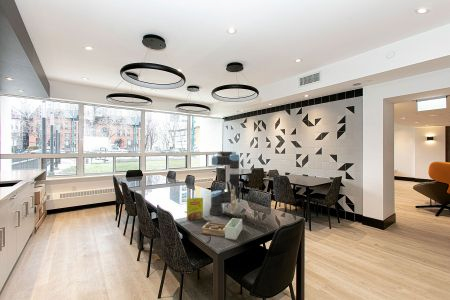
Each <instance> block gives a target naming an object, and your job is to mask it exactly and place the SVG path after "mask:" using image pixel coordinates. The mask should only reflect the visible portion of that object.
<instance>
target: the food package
mask: <svg viewBox="0 0 450 300" xmlns="http://www.w3.org/2000/svg"><path fill="white" fill-rule="evenodd" d="M203 218H204V197H195V198H194V197H193V198H187V199H186V220H187V219H188V220H198V219H199V220H200V219H203Z"/></svg>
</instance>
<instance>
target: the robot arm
mask: <svg viewBox="0 0 450 300" xmlns="http://www.w3.org/2000/svg"><path fill="white" fill-rule="evenodd" d="M211 165H212V166H225V189H224V190H213V191H212V192H211V193H210V208H209V211H208V212H209V214H208V215H211V216H218V217H219V216H222V215H224V207H223V204H231V190H232V189H233V188H235V190H236V195H235V203H237V204H238V199H239V195H241V190H242V185H243V182H242V181H240V155H239V154H237V153H236V151H218V152H215V153H214V154H213V155H212V156H211ZM238 184H239V186H238Z"/></svg>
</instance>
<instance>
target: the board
mask: <svg viewBox="0 0 450 300" xmlns="http://www.w3.org/2000/svg"><path fill="white" fill-rule="evenodd" d="M235 195H236V190H235V187H234V188H233V189H232V190H231V203H230V213H231V214H234V213H235V212H236V211H237V210H238V202H237V203H235Z"/></svg>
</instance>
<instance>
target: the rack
mask: <svg viewBox="0 0 450 300" xmlns="http://www.w3.org/2000/svg"><path fill="white" fill-rule="evenodd" d="M227 224H228V223H222V222H212V221H207V222H206V223H205V225H203V226H201V228H200V233H201V234H204V235H211V236H212V235H213V236H219V237H225V226H226V225H227ZM211 226H219V228H221V229H222V230H216V229H209V228H210V227H211Z"/></svg>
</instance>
